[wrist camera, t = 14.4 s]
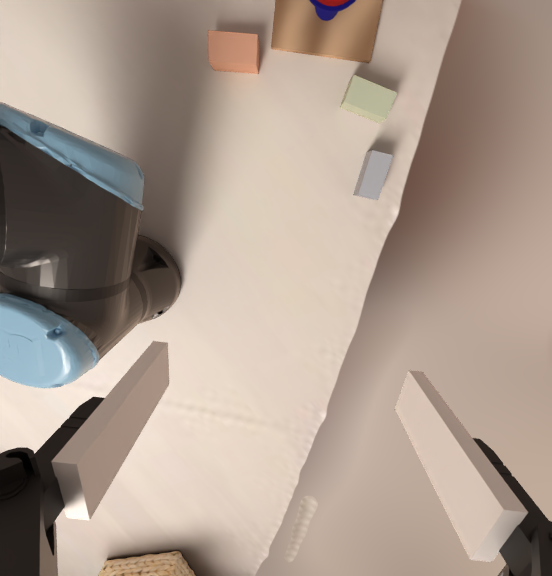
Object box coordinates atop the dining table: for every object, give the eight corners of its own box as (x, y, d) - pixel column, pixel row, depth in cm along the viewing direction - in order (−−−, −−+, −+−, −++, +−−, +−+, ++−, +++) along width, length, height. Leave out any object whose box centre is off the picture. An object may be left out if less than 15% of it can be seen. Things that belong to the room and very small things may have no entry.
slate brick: (371, 199, 41) (377, 200, 38) (353, 194, 41) (357, 195, 38) (385, 157, 39) (393, 155, 36) (366, 152, 39) (372, 150, 36)
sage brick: (339, 108, 37) (344, 101, 34) (348, 83, 36) (353, 74, 33) (378, 123, 37) (386, 118, 35) (388, 100, 36) (397, 92, 34)
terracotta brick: (214, 70, 36) (208, 60, 33) (214, 43, 35) (208, 30, 32) (258, 74, 36) (256, 64, 33) (259, 46, 35) (257, 34, 32)
